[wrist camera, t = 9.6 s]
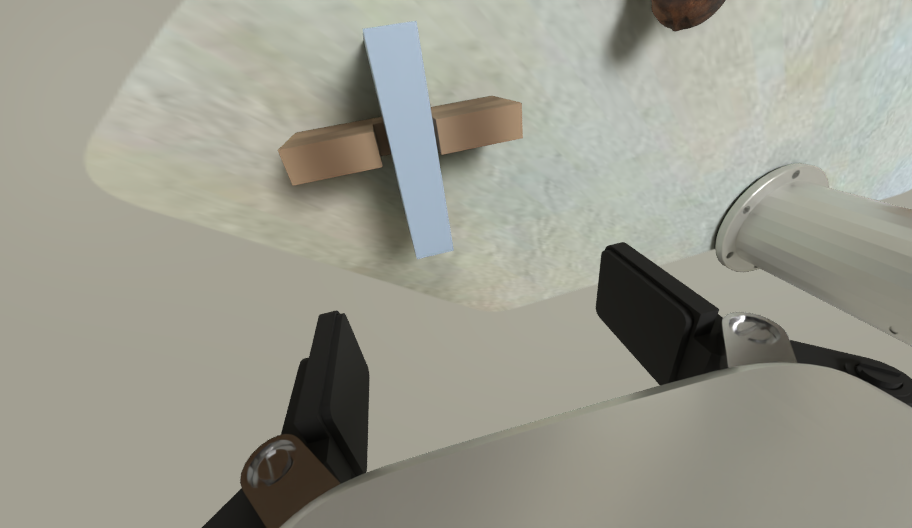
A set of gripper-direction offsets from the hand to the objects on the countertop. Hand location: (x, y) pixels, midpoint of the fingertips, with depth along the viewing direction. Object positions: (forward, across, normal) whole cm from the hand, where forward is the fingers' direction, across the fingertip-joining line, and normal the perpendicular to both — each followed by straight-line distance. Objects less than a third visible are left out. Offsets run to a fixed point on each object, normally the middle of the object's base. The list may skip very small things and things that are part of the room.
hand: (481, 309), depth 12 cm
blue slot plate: (+17, +1, -3) cm, 17 cm away
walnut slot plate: (+17, +1, -4) cm, 17 cm away
